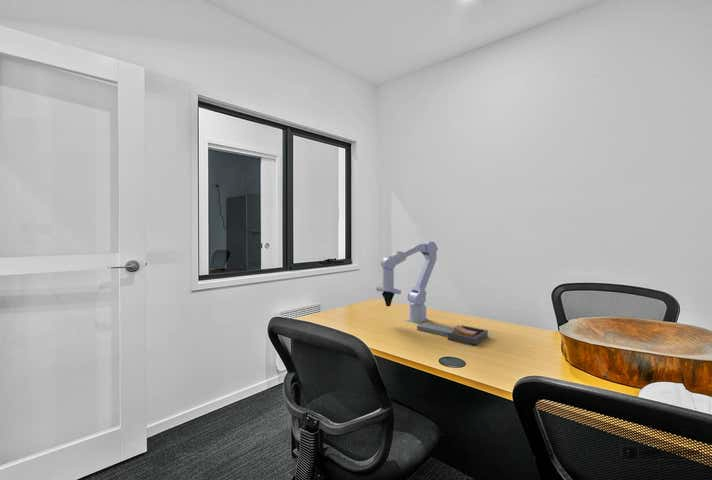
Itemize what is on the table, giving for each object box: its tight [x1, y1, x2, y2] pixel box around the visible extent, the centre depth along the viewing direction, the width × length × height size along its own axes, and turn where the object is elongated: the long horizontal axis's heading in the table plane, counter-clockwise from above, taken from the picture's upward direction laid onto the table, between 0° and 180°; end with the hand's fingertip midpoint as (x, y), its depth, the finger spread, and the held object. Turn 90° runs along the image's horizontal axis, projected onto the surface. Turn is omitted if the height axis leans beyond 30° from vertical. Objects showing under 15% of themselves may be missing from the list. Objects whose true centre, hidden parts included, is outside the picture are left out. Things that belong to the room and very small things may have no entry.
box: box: [447, 325, 489, 346], centre depth 150 cm, size 15×12×3 cm
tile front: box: [463, 330, 477, 338], centre depth 149 cm, size 4×4×2 cm
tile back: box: [453, 325, 467, 335], centre depth 152 cm, size 4×4×2 cm
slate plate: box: [416, 321, 455, 338], centre depth 160 cm, size 8×18×2 cm, turn 49°
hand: (388, 306), depth 173 cm, fingers closed
